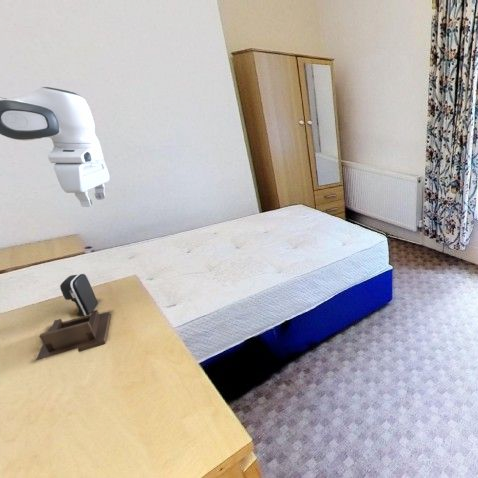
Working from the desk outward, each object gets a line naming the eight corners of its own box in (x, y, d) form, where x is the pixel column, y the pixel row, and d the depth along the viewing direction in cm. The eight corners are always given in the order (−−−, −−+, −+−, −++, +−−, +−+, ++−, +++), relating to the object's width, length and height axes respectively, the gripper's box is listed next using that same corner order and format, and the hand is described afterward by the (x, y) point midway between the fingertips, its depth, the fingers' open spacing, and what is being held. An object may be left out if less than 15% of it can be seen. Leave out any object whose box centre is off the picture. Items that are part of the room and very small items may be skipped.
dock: (38, 363, 77) (26, 343, 74) (52, 330, 88) (42, 311, 85) (105, 343, 84) (96, 324, 81) (111, 314, 95) (103, 297, 92)
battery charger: (83, 305, 98) (67, 273, 93) (99, 303, 99) (85, 271, 95) (72, 319, 92) (55, 285, 88) (89, 315, 94) (73, 282, 89)
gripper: (81, 149, 95) (94, 195, 99) (43, 156, 78) (61, 211, 82) (109, 150, 98) (121, 194, 102) (79, 157, 81) (94, 210, 85)
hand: (94, 202), depth 92 cm, fingers open, 8 cm apart
